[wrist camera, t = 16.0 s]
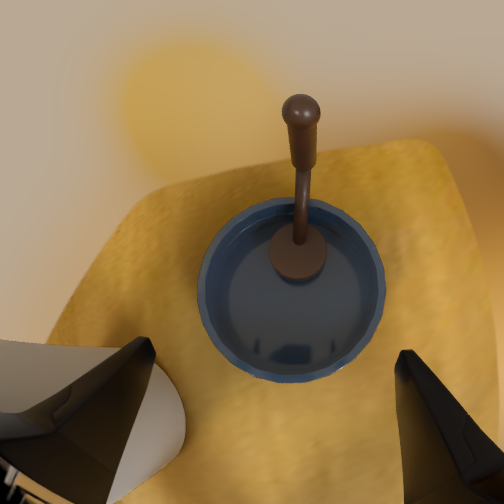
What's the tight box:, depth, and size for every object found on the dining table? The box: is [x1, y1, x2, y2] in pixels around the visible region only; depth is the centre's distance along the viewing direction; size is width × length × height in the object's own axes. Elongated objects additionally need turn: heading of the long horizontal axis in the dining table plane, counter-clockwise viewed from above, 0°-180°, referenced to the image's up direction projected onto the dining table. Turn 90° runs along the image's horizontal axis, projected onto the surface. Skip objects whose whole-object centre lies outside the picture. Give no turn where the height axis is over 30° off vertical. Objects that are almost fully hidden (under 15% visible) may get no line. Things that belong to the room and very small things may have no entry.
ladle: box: [269, 94, 327, 282], centre depth 18 cm, size 8×4×12 cm, turn 170°
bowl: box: [197, 197, 386, 383], centre depth 21 cm, size 13×13×4 cm
